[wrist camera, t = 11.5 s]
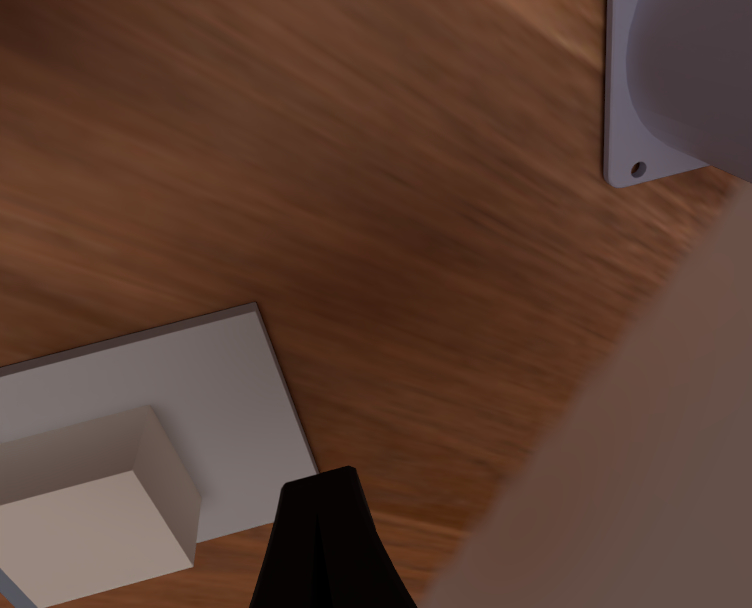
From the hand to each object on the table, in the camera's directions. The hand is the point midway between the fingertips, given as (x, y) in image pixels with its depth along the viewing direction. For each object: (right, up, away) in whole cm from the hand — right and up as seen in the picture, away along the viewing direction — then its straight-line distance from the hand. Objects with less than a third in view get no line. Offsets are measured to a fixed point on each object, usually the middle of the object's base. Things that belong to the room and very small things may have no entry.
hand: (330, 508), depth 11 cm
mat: (-8, -2, +10) cm, 13 cm away
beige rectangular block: (-6, -2, +9) cm, 11 cm away
